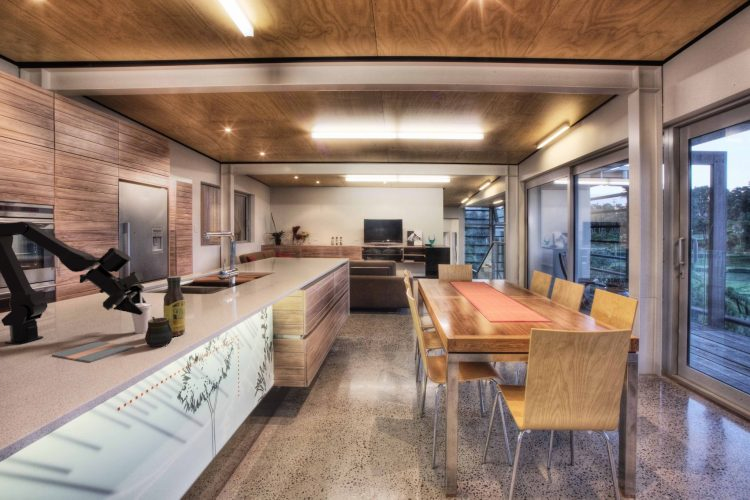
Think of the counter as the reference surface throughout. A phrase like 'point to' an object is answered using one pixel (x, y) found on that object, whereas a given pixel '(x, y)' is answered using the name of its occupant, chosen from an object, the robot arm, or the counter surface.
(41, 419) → the counter surface
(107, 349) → the slate board
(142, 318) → the smoothie
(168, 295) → the sauce bottle
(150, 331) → the mate gourd
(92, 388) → the counter surface
